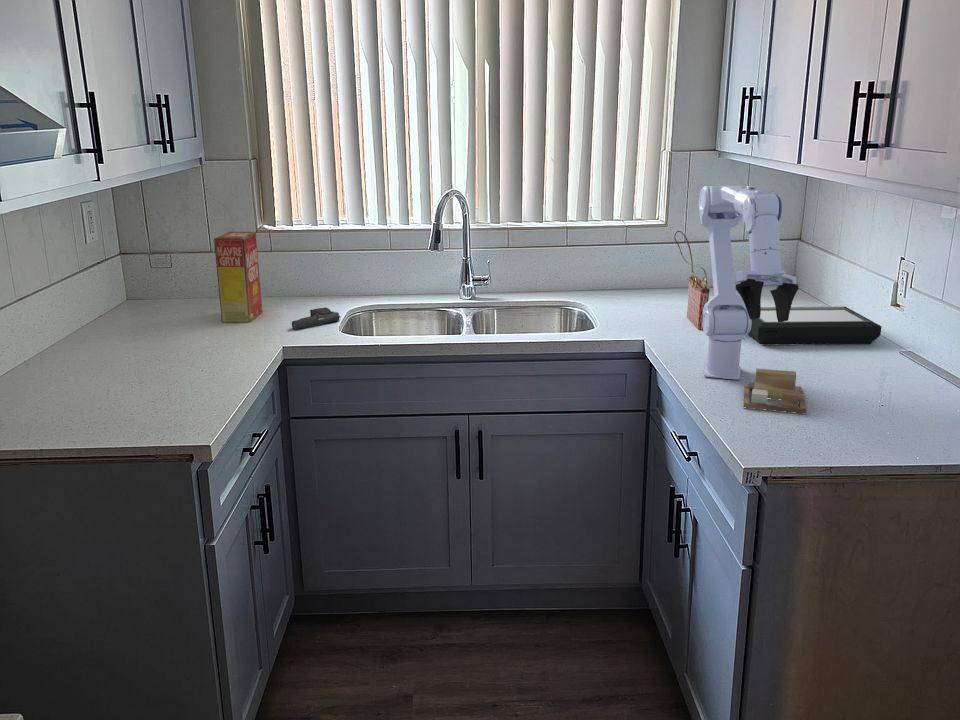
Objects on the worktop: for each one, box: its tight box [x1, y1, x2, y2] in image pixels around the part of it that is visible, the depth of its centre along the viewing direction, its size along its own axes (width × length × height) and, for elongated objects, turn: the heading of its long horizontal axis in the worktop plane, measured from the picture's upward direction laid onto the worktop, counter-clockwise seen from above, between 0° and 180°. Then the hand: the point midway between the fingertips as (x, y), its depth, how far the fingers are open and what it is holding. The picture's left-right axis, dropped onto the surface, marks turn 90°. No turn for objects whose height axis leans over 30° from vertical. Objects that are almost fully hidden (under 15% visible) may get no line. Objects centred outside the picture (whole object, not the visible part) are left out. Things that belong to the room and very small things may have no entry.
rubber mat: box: [748, 381, 803, 391], centre depth 178 cm, size 5×11×1 cm, turn 72°
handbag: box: [673, 230, 711, 331], centre depth 231 cm, size 7×21×25 cm, turn 179°
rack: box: [743, 385, 807, 414], centre depth 171 cm, size 12×12×1 cm
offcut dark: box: [780, 389, 799, 407], centre depth 167 cm, size 3×3×4 cm
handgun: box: [291, 307, 341, 331], centre depth 237 cm, size 3×16×12 cm
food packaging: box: [213, 231, 264, 323], centre depth 240 cm, size 13×9×25 cm
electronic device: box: [748, 306, 882, 345], centre depth 219 cm, size 32×6×20 cm
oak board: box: [754, 368, 797, 401], centre depth 172 cm, size 2×8×6 cm, turn 72°
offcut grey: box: [750, 389, 768, 404], centre depth 169 cm, size 3×3×3 cm
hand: (769, 320), depth 159 cm, fingers open, 7 cm apart
